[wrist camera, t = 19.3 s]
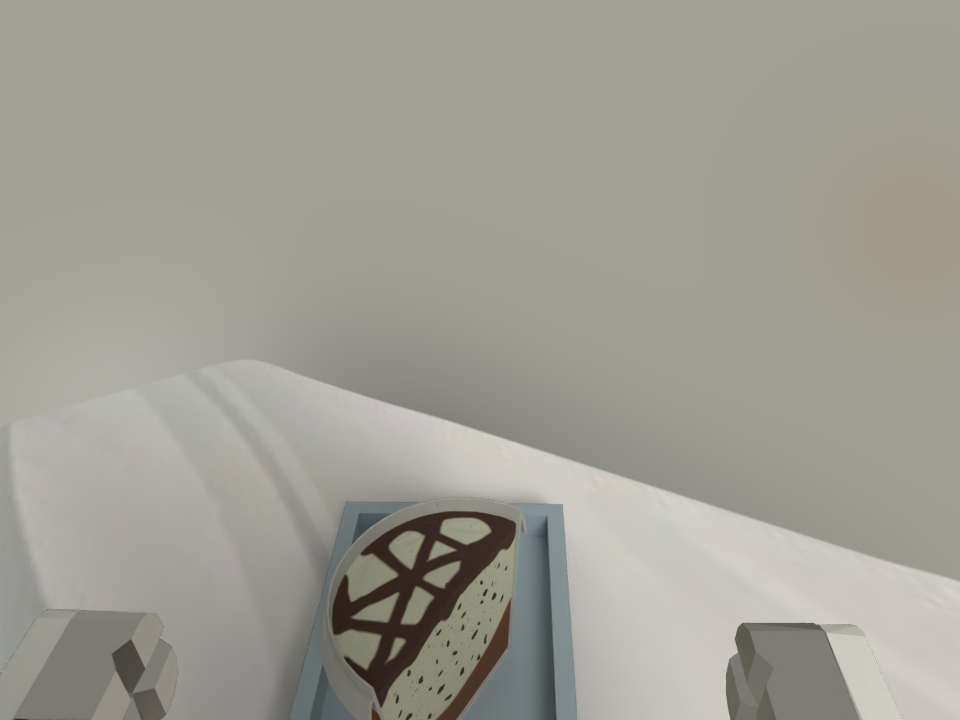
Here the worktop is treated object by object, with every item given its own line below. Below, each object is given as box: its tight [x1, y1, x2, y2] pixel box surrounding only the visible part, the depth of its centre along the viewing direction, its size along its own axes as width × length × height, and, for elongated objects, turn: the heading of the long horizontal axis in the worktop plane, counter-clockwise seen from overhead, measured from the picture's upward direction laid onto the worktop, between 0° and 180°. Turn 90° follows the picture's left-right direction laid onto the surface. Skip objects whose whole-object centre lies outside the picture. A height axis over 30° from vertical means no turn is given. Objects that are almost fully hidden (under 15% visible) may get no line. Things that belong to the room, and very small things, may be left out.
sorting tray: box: [289, 502, 577, 720], centre depth 41 cm, size 14×20×2 cm
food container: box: [320, 497, 527, 720], centre depth 37 cm, size 12×6×10 cm, turn 147°
